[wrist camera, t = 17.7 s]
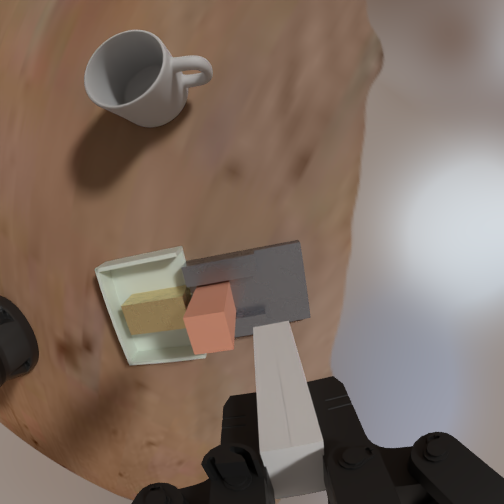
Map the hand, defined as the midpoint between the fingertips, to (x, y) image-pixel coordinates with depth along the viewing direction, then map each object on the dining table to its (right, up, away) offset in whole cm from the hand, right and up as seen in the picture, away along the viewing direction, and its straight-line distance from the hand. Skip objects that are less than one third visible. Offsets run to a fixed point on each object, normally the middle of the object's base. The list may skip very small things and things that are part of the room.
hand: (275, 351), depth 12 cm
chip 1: (-14, -3, +25) cm, 29 cm away
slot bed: (-1, 0, +25) cm, 25 cm away
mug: (-11, +24, +19) cm, 32 cm away
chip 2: (-11, -2, +25) cm, 27 cm away
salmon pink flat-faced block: (-5, -2, +24) cm, 25 cm away
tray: (-14, -3, +25) cm, 29 cm away
